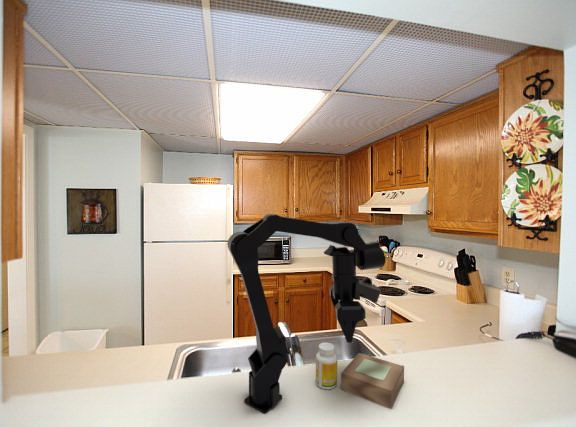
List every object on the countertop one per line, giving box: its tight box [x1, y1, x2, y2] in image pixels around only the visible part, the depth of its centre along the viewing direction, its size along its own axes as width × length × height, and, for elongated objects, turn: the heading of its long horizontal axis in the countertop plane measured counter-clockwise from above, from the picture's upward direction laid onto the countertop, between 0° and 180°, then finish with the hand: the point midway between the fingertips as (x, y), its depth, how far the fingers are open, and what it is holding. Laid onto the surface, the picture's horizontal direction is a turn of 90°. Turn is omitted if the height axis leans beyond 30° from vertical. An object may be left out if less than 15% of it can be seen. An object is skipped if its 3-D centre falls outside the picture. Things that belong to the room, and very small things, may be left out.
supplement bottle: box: [315, 342, 338, 390], centre depth 72 cm, size 5×5×10 cm
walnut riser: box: [340, 352, 405, 409], centre depth 72 cm, size 12×12×4 cm
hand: (346, 333), depth 72 cm, fingers open, 9 cm apart
